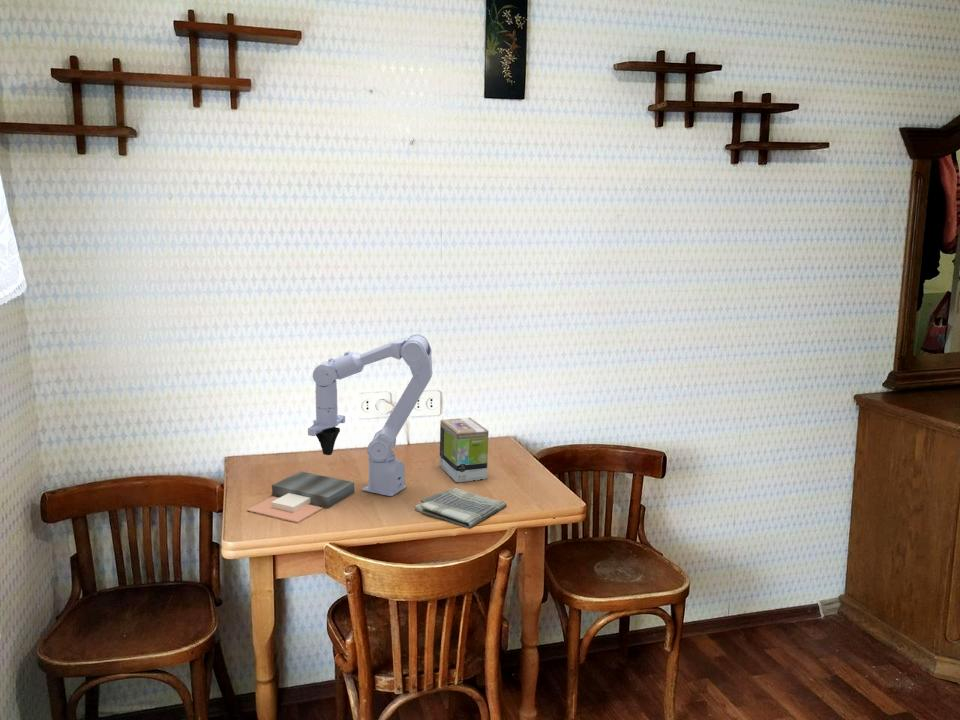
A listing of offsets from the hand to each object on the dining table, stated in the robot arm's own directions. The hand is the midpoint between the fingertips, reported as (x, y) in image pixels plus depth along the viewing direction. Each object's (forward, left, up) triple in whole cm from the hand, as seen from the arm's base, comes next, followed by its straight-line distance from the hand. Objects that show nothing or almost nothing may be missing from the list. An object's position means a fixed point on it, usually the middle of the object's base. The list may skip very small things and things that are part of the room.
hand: (327, 454), depth 211 cm
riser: (0, +7, -9) cm, 11 cm away
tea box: (-28, -27, -10) cm, 40 cm away
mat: (0, +19, -9) cm, 21 cm away
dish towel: (-39, -3, -10) cm, 40 cm away
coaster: (0, +16, -9) cm, 18 cm away
